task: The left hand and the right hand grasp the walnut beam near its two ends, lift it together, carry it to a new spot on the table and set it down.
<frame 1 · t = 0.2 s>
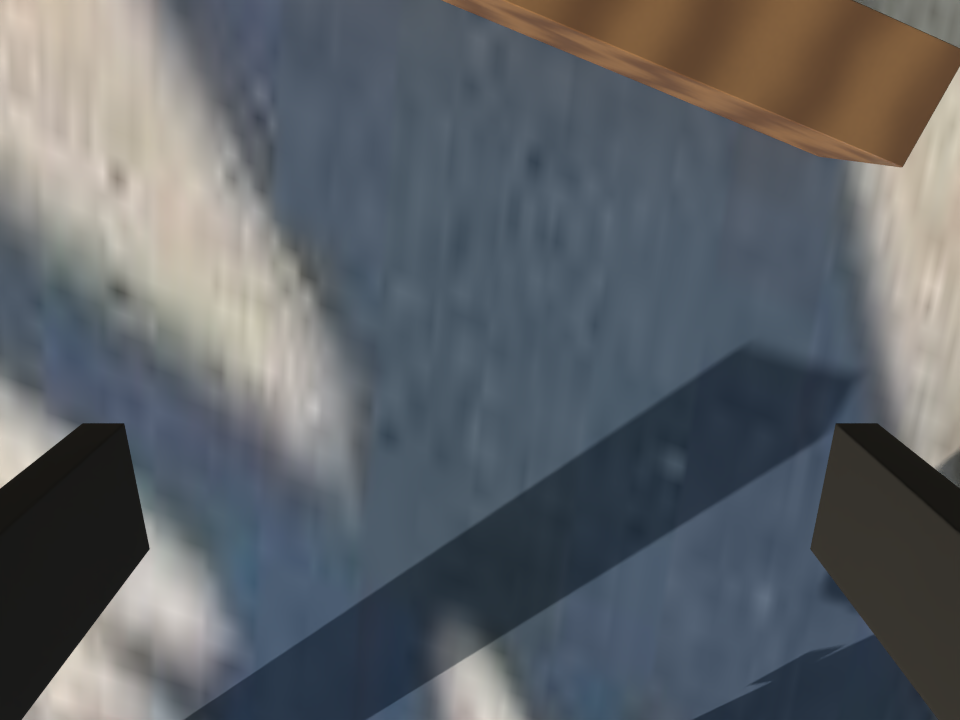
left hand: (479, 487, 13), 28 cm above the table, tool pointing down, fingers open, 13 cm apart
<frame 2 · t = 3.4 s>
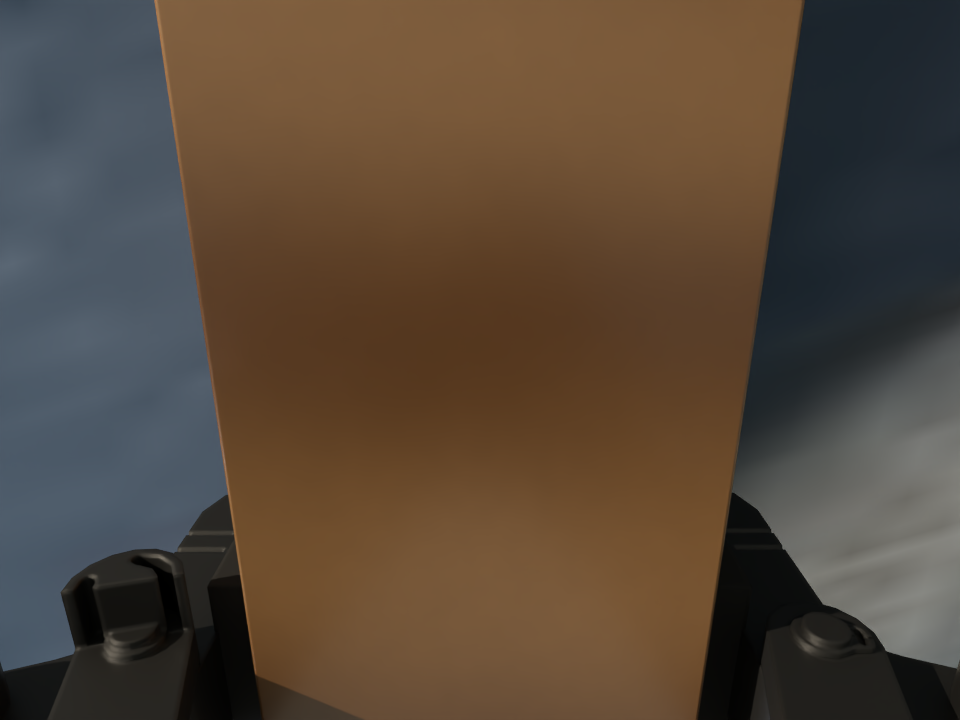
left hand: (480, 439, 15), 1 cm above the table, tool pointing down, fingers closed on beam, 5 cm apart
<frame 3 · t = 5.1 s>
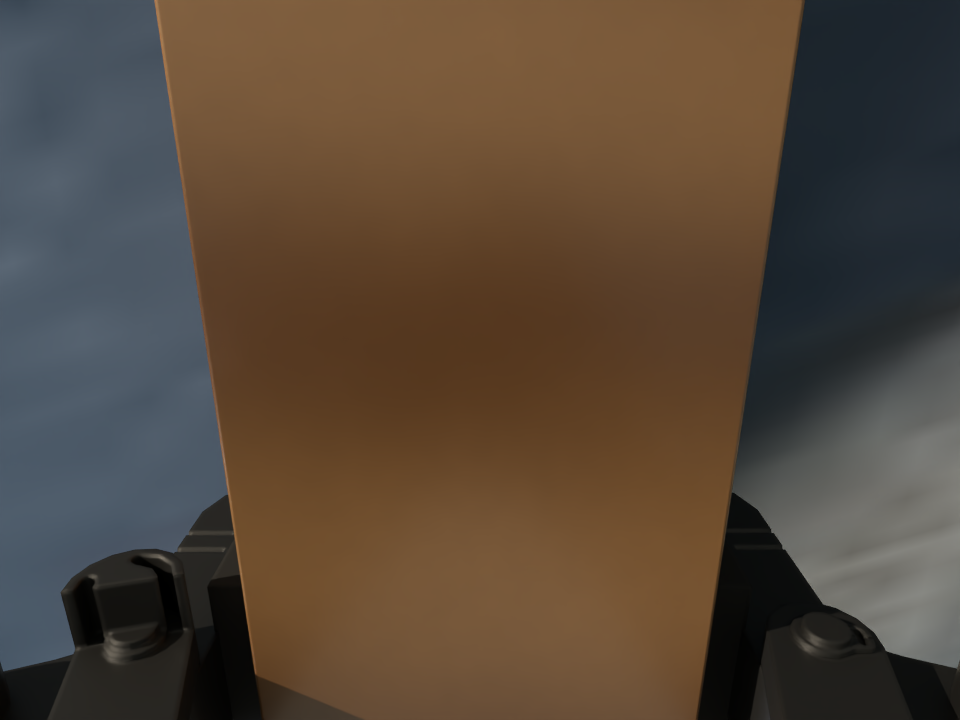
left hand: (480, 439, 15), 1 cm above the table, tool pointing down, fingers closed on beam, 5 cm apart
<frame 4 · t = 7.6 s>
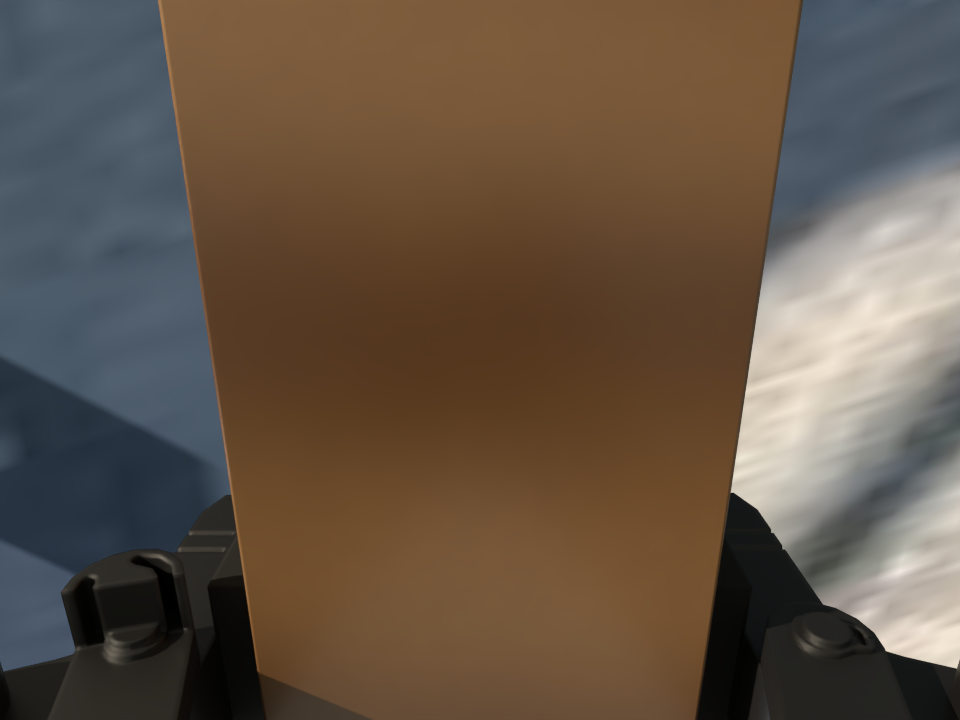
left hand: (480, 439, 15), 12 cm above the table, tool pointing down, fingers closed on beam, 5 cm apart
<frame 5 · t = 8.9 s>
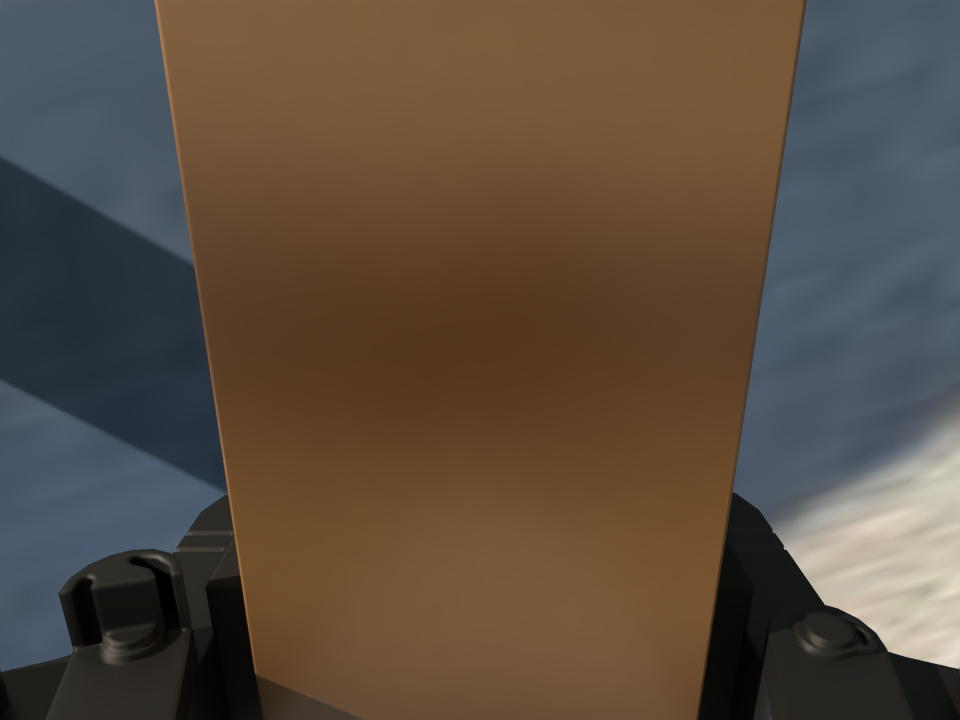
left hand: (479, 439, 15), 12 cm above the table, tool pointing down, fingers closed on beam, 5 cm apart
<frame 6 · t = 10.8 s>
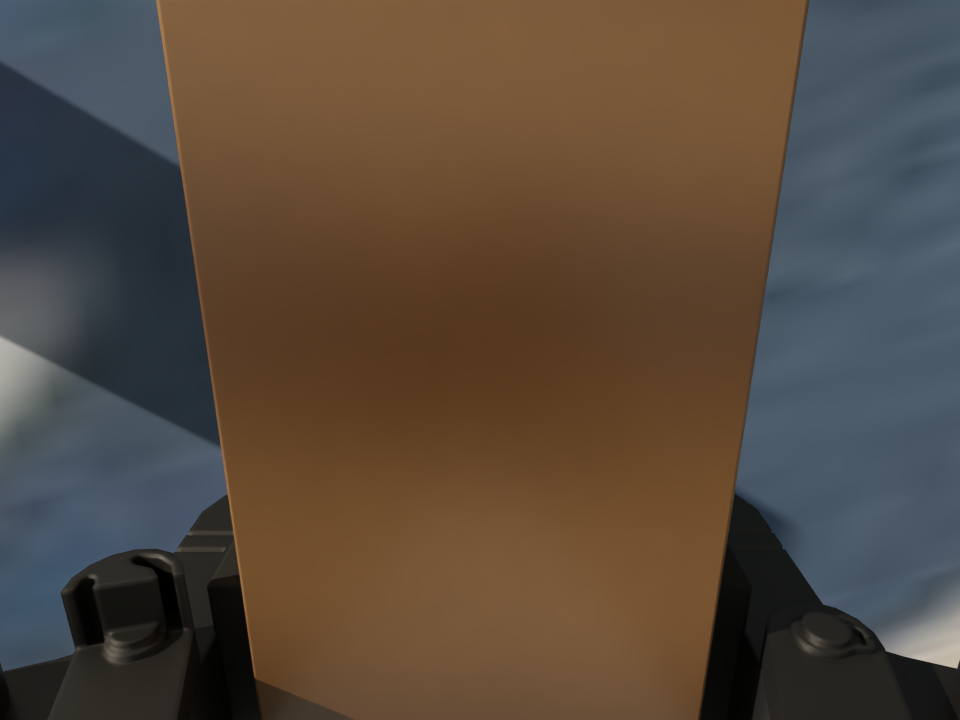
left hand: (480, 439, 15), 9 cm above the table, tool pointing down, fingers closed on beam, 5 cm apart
when the left hand's fingers open (2 cm above the table, at t = 12.3 s): beam drops 1 cm, on the table.
when the right hand's fingers open (4 cm above the table, at t = 12.5 s): beam stays where it is, on the table.
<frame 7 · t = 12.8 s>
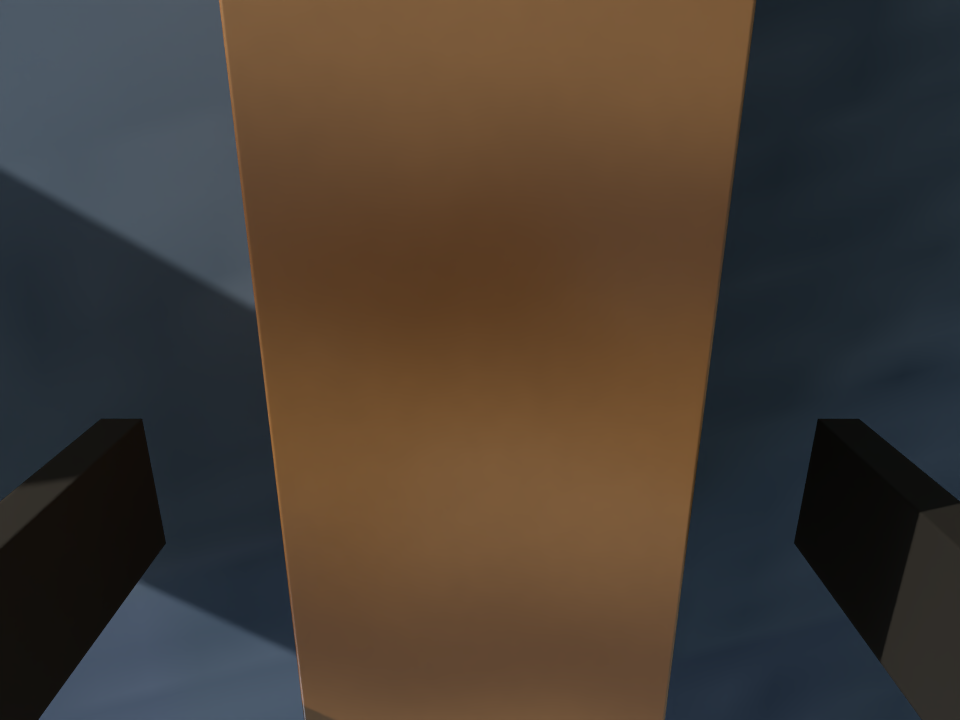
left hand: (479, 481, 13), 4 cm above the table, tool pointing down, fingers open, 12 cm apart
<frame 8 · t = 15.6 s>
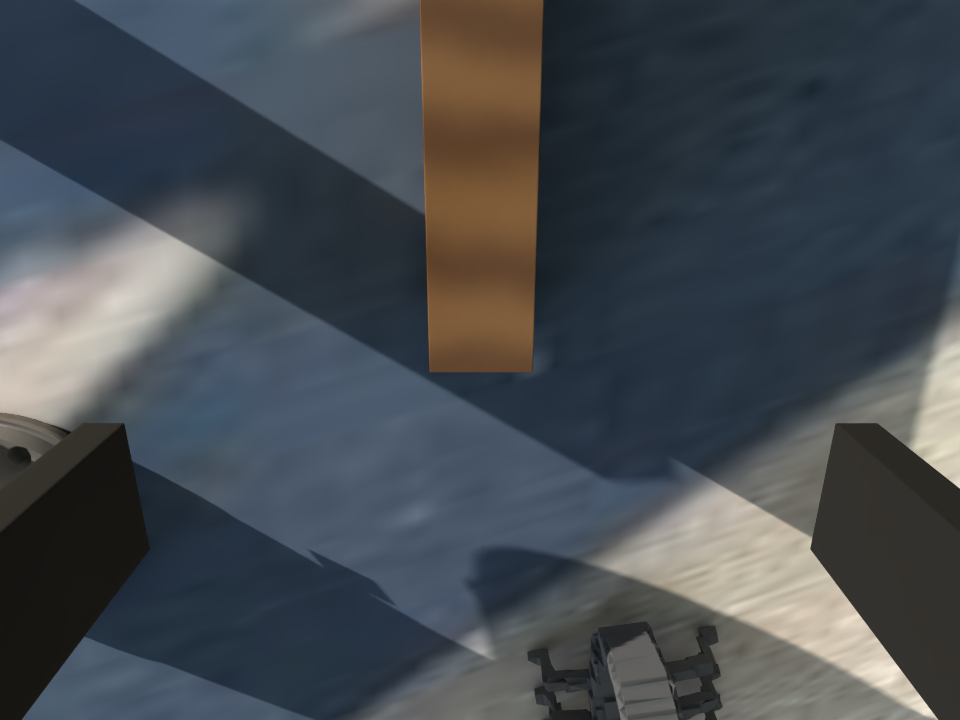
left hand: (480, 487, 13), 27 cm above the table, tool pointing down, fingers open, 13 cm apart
toy: (619, 691, 50), on the table
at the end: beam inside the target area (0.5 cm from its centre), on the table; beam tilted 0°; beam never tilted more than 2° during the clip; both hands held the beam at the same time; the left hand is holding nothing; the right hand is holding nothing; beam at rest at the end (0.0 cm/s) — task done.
